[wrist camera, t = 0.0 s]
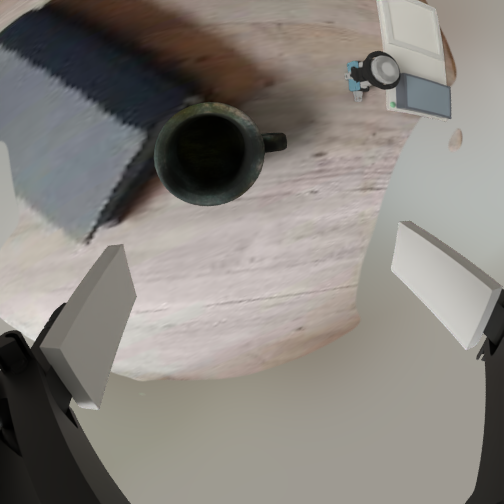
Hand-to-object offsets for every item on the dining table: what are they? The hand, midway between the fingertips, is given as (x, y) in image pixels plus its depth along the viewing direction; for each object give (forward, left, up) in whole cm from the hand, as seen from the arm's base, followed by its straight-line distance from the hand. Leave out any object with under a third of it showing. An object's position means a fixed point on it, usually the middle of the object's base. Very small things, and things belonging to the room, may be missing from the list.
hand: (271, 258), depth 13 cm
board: (-21, +32, -29) cm, 48 cm away
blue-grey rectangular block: (-13, +32, -29) cm, 45 cm away
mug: (-3, -1, -30) cm, 30 cm away
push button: (-13, +19, -30) cm, 37 cm away
